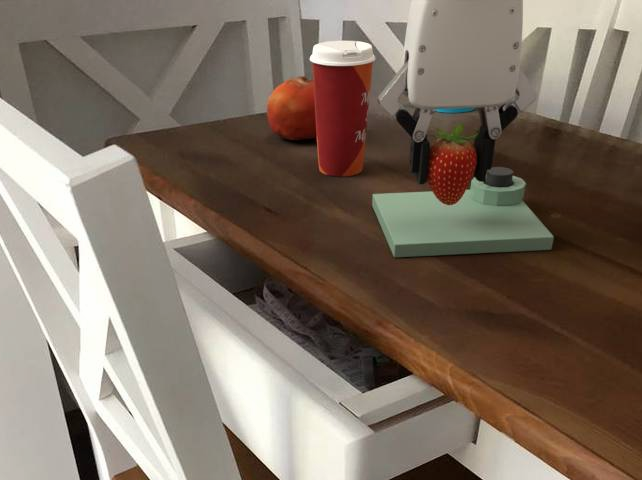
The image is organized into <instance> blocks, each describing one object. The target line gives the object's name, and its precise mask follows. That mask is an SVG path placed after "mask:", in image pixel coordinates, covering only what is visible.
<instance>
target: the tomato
mask: <svg viewBox="0 0 642 480" xmlns="http://www.w3.org/2000/svg"><path fill="white" fill-rule="evenodd" d="M285 80H286V81H284V82H283V83H281V84H279V85H277V87H275V88H274V90H273V91H272V93H271V94H270V95H269V97H268V99H267V104H266V115H267V121H268V124H269V127H270V129H271V131H272V132H273V133H274V134H275V135H276V136H278V137H280V138H283V139H286V140H289V141H299V140H311V139H312V140H313V139H315V138H316V139H317V133H316V116H315V99H314V81H313V80H312V79H309V78H308V77H306V76H304V75H302V76H301V75H299V76H297V77H295V78H291V77H290V78H287V79H285Z"/></svg>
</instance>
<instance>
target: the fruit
mask: <svg viewBox="0 0 642 480" xmlns="http://www.w3.org/2000/svg"><path fill="white" fill-rule="evenodd" d="M463 132H464V128H463V122H461V123H459V125H457V126H456V121H454V122H453V125H452V132H451V134H449V133H447V132H446V131H445V132H444V131H443V130H442V129H440V128H439V127H438V126H437V127H436V133H438V134H439V135H440V136H435V135H432V134H430V135H429V136H430V137H434V138H437V139H436V140H435V141H434V142H433V143H432V144H430V151H429V163H428V174H427V182H426V183H427V185H428V186H429V188H430V190H431V191H432V192H433V193H434V195H435V196H436V198H437V199H438V200H439V201H440V202H442V203H443V204H445V205H453V204H456V203H457V202H458V201H459V200H460V199H461V198H462V196H463V195H464V193H465V191H466V190H468V187H469V185H470V184H471V181H472V180H473V178H474V176H473V174H474V172H475V169H476V165H477V153H476V149H475V147H474V146H473V145H474V143H473V142H471V141H472V140H474V138H476V136H477V135H478V134H479V132H478V133H477V132H476V133H477V134H475V133H474V134H473V135H469V136H460V135H462V134H463ZM470 140H471V141H470Z"/></svg>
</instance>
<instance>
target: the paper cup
mask: <svg viewBox="0 0 642 480" xmlns="http://www.w3.org/2000/svg"><path fill="white" fill-rule="evenodd" d="M376 60H377V59H376V56H375V54H374V51H373V46H372V44H370V43H368V42H364V41H359V40H330V41H323V42H319V43H316V44H314V45H313V47H312V54H311V55H310V57H309V61H310V62H311V63H312V76H313V78H312V79H313V81H314V99H315V116H316V133H317V137H316V147H317V160H318V161H317V163H318V169H319V172H320V173H321V174H323V175H325V176H331V177H343V178H344V177H351V176H355V175H359V174H361V173H362V171H363V169H364V161H365V152H366V151H365V150H366V140H367V130H368V118H369V109H370V108H369V107H370V98H371V97H370V96H371V86H372V73H373V62H374V61H376Z"/></svg>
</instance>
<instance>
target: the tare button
mask: <svg viewBox="0 0 642 480" xmlns="http://www.w3.org/2000/svg"><path fill="white" fill-rule="evenodd" d="M486 174H487V175H486V182H485V184H486V185H489V186H491V187H499V188H500V187H509V186H511V184H512V178H513V176H514V170H513V169H511V168H508V167H505V166H494V167H493V166H492V167H491V169H490V170H487V173H486Z"/></svg>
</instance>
